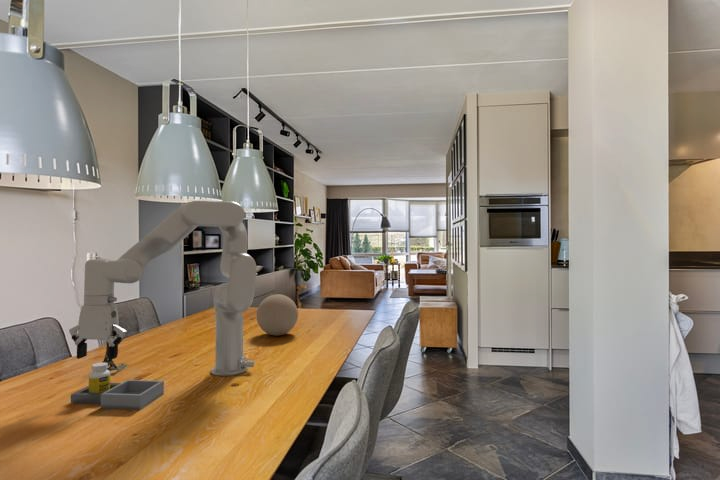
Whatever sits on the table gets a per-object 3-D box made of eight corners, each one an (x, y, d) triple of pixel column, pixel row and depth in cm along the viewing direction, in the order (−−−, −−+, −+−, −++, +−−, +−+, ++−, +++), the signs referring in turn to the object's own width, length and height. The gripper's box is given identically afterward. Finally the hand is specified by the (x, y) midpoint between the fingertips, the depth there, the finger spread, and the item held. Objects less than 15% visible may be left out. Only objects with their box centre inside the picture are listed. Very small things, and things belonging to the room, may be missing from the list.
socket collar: (126, 391, 127) (126, 383, 127) (103, 404, 117) (103, 395, 117) (95, 390, 127) (95, 382, 127) (70, 403, 117) (70, 394, 117)
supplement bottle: (99, 401, 119) (99, 367, 119) (84, 399, 120) (84, 366, 120) (114, 394, 124) (114, 362, 124) (99, 393, 125) (99, 361, 125)
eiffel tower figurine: (113, 377, 141) (113, 338, 141) (82, 378, 140) (82, 339, 140) (132, 364, 156) (132, 329, 156) (104, 365, 155) (104, 329, 155)
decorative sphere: (259, 330, 210) (259, 292, 210) (298, 330, 213) (298, 291, 212) (253, 340, 190) (253, 297, 190) (296, 339, 193) (297, 297, 193)
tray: (163, 394, 125) (163, 380, 125) (140, 409, 113) (140, 395, 113) (127, 392, 125) (127, 379, 125) (100, 408, 114) (100, 394, 114)
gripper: (134, 299, 125) (132, 356, 125) (81, 298, 126) (79, 353, 126) (118, 303, 118) (116, 363, 117) (61, 301, 119) (59, 360, 119)
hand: (97, 358), depth 122 cm, fingers open, 9 cm apart
